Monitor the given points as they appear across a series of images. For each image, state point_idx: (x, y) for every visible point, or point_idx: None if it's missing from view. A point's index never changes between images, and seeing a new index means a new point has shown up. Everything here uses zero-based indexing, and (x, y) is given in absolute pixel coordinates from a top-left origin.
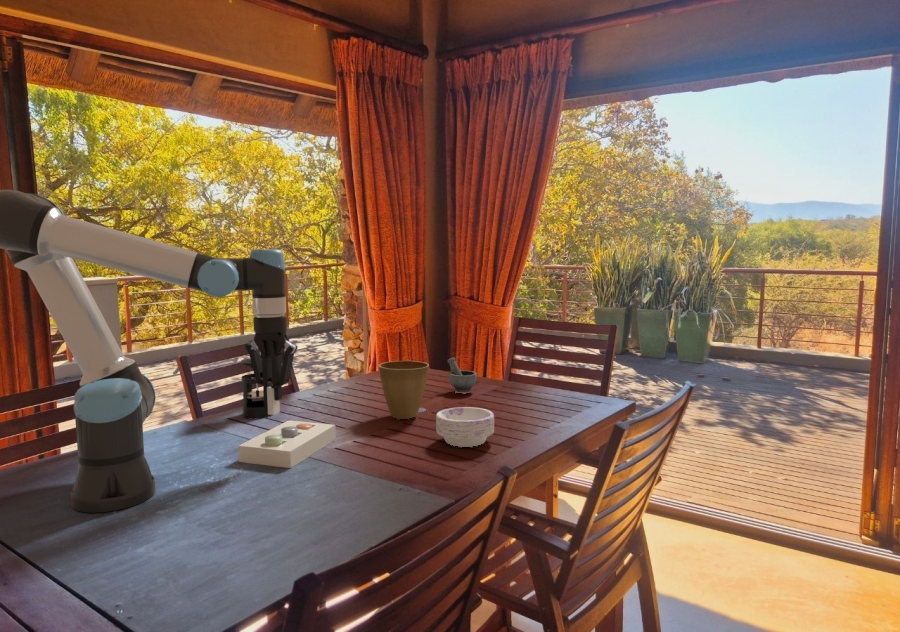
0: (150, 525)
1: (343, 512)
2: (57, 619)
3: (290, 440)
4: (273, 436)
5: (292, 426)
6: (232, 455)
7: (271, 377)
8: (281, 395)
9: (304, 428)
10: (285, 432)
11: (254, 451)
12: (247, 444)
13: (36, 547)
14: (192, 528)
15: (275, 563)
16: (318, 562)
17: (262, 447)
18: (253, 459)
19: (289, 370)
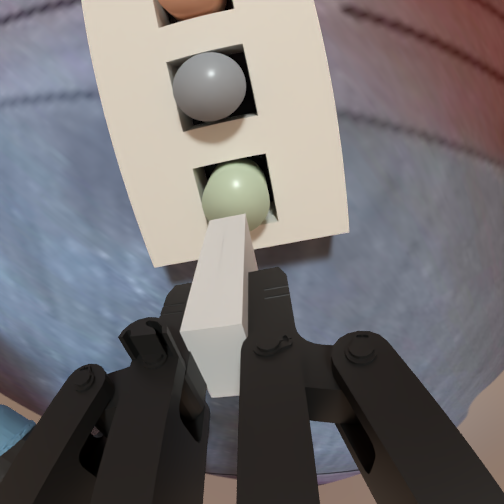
0: None
1: (498, 312)
2: (338, 478)
3: (270, 141)
4: (228, 197)
5: (195, 55)
6: (108, 216)
7: (180, 421)
8: (288, 287)
9: (211, 3)
10: (218, 119)
11: None
12: (168, 247)
13: (221, 469)
14: None
15: (453, 404)
16: (486, 384)
17: None
18: None
19: (457, 465)
